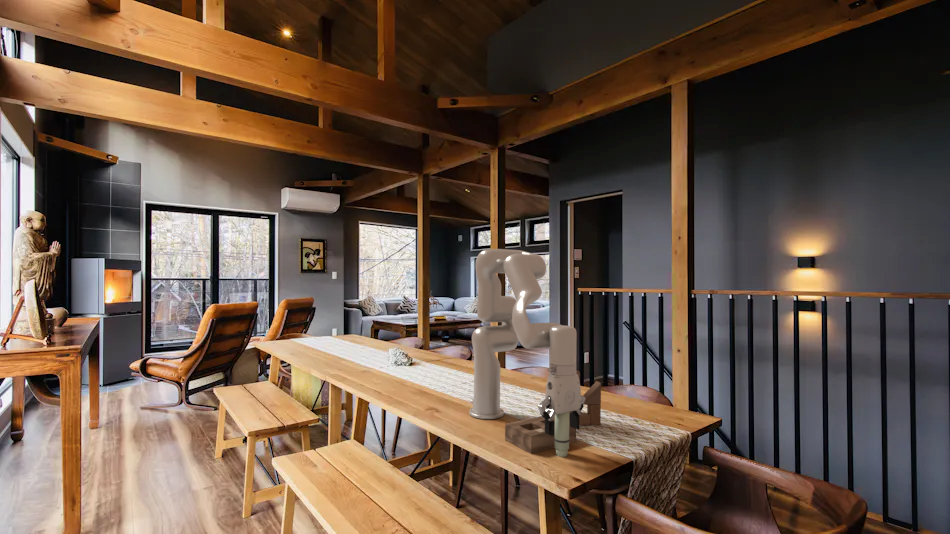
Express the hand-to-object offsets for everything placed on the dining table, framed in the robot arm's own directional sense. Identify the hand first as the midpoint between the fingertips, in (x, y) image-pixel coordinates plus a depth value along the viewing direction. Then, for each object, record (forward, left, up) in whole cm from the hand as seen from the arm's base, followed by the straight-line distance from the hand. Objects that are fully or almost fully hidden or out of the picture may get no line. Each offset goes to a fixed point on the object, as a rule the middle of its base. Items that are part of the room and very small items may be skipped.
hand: (562, 431), depth 126 cm
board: (-11, +2, -7) cm, 13 cm away
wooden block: (-15, +25, -7) cm, 30 cm away
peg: (0, 0, -7) cm, 7 cm away
